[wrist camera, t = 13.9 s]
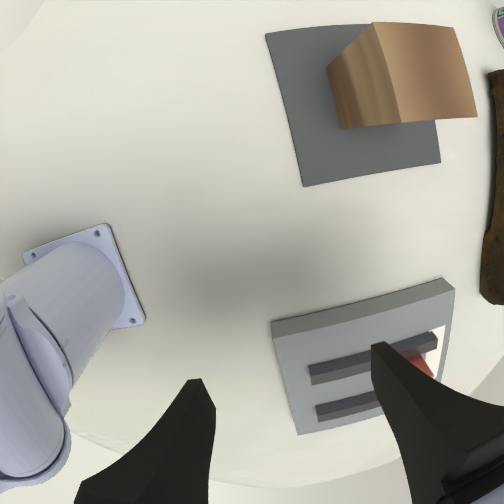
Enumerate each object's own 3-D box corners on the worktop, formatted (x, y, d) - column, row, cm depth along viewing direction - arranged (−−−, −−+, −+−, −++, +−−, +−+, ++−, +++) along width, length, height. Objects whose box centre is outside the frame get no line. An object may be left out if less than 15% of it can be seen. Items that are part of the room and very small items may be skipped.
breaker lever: (388, 383, 21) (400, 410, 18) (390, 358, 20) (404, 385, 17) (413, 375, 21) (428, 400, 18) (417, 349, 20) (433, 375, 17)
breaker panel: (295, 419, 26) (298, 445, 23) (270, 322, 22) (273, 349, 19) (429, 381, 24) (442, 402, 21) (442, 277, 20) (463, 296, 17)
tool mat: (303, 186, 18) (304, 187, 18) (265, 35, 15) (265, 33, 14) (438, 162, 17) (441, 162, 17) (406, 27, 14) (408, 25, 14)
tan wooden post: (341, 129, 17) (401, 122, 9) (325, 68, 15) (372, 22, 8) (398, 121, 16) (477, 117, 9) (383, 63, 15) (453, 27, 7)
